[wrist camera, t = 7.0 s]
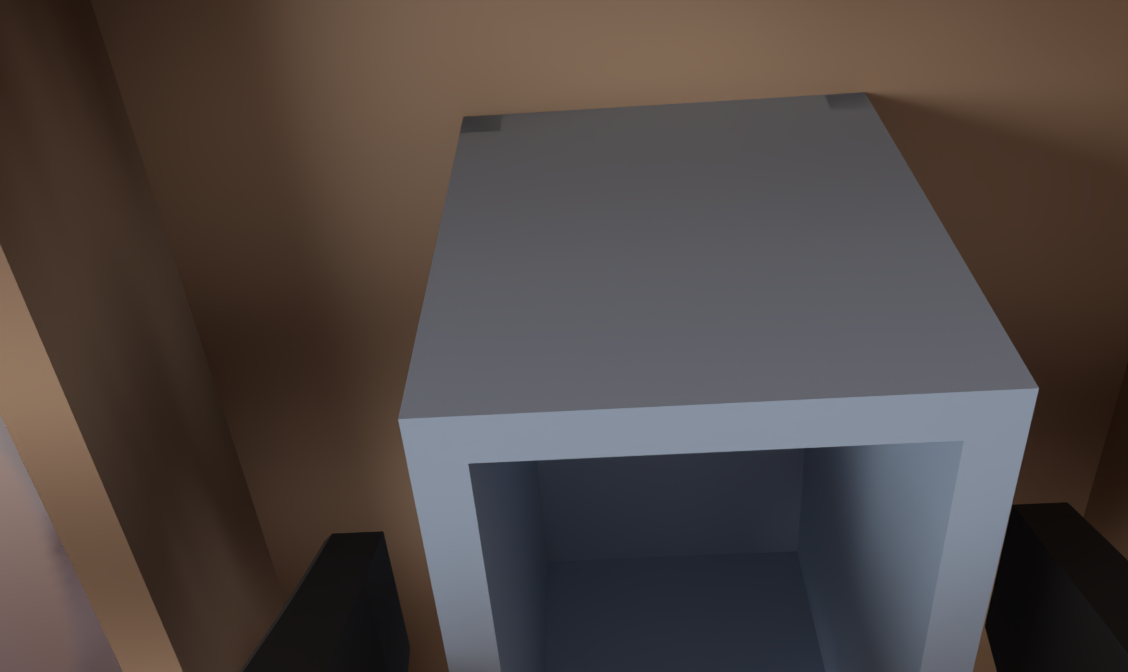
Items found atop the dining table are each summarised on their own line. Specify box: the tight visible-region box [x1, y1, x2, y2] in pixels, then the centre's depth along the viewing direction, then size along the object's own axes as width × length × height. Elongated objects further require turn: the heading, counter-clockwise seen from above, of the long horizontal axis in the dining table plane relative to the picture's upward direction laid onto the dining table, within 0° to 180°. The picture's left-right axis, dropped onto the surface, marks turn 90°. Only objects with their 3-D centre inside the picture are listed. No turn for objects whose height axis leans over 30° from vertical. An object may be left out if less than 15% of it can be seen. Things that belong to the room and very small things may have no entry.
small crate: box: [398, 92, 1039, 672], centre depth 13 cm, size 8×5×6 cm, turn 4°
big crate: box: [0, 0, 1128, 672], centre depth 15 cm, size 16×15×4 cm
